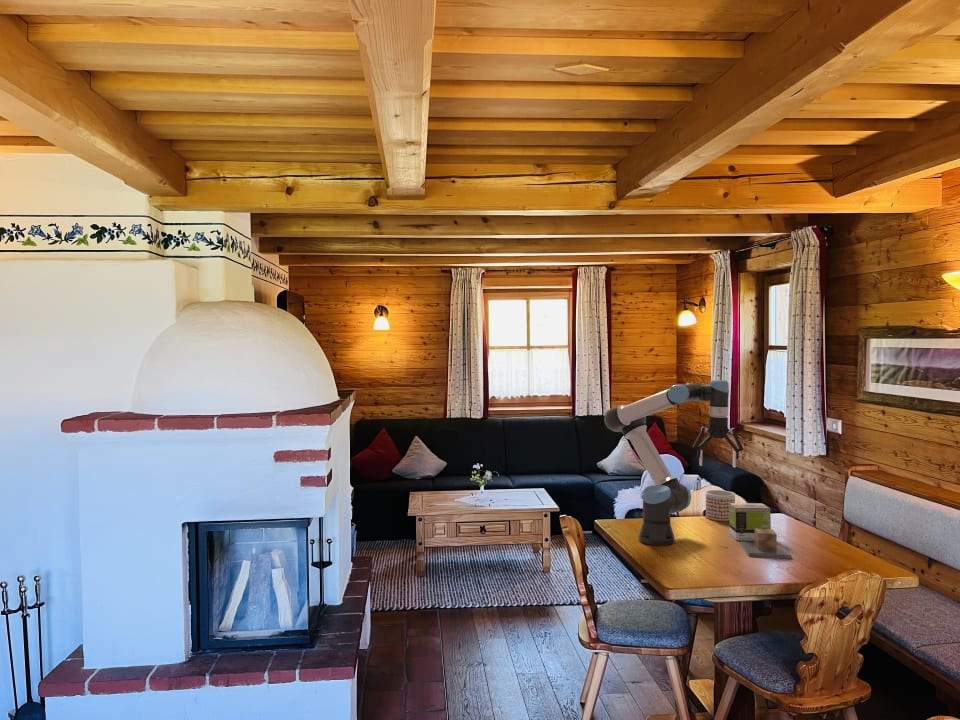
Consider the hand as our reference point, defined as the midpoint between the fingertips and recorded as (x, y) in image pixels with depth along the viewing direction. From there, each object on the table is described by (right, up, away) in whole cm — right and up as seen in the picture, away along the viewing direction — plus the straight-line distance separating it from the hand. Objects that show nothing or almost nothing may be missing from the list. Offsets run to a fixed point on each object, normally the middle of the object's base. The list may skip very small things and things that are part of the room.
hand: (717, 466), depth 277 cm
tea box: (+19, -34, +12) cm, 41 cm away
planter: (+18, -34, +47) cm, 60 cm away
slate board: (+17, -34, -8) cm, 39 cm away
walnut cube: (+17, -33, -8) cm, 38 cm away
